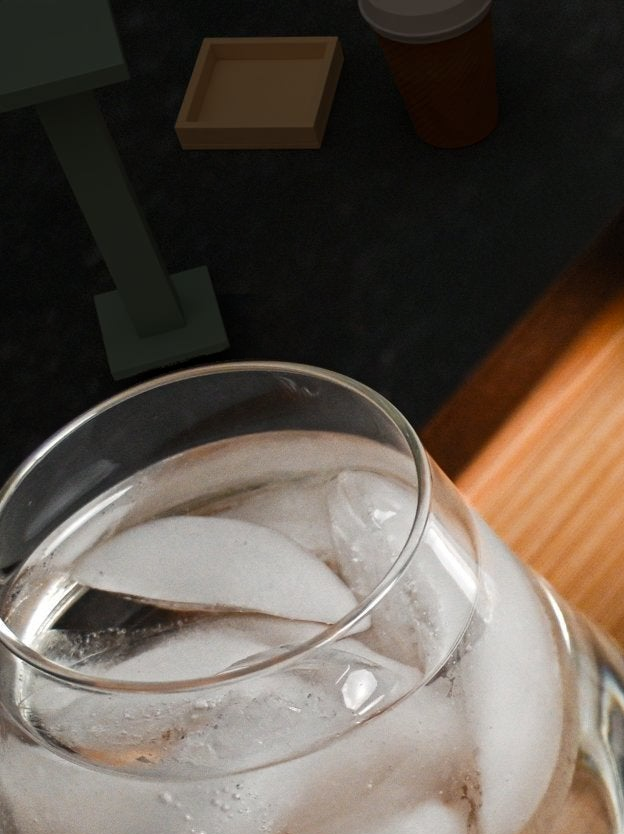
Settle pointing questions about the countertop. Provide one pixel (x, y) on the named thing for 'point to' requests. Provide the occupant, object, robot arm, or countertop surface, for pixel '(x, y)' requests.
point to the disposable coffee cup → (440, 65)
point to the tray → (260, 93)
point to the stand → (104, 181)
